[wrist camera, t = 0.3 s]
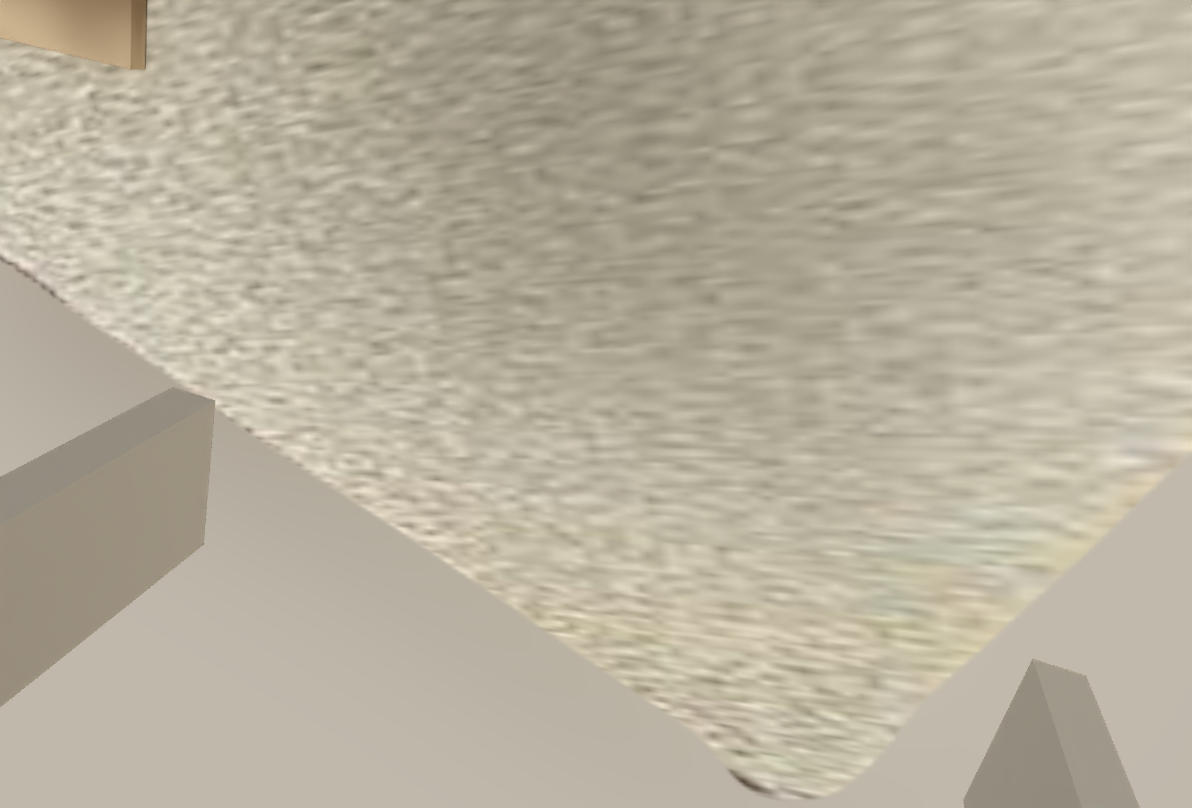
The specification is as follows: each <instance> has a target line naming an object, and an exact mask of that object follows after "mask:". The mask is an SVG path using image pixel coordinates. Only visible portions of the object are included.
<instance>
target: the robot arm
mask: <svg viewBox="0 0 1192 808" xmlns="http://www.w3.org/2000/svg"><path fill="white" fill-rule="evenodd" d="M214 411H215V400H212V399H209V398H206V397H203V396H199V395H196V394H193V393H190V392H187V391H184V390H180V389H177V388H174V387H172V388H170V389H168V390H166V391H164V392H163V393H160V394H159V395H157V396H155V397H153V398H151V399H149V400H147V401H145V402H144V403H141V404H139V405H137V406H136V407H134V408H132V409H130V410H128V411H126V412H124V413H122V414H120V415H118V416H117V417H114V418H113V419H111V420H109V421H107V422H105V423H103V424H101V425H99V426H97V427H95V428H93V429H91V430H90V431H88V432H86V433H84V434H82V435H80V436H78V437H76V438H74V439H72V440H70V441H68V442H67V443H65V444H63V445H61V446H59V447H57V448H55V449H53V450H51V451H49V452H47V453H45V454H44V455H42V456H40V457H38V458H36V459H34V460H33V461H30V462H28V463H26V464H24V465H22V466H21V467H19V468H17V469H15V470H13V471H11V472H9V473H7V474H5V475H3V476H1V477H0V707H1V706H2V705H4V704H5V703H6V702H7V701H9V700H10V699H11V698H12V697H14V696H15V695H16V694H17V693H19V692H20V691H21V690H22V689H24V688H25V687H26V686H27V685H29V684H30V683H31V682H32V681H34V680H35V679H36V678H37V677H39V676H40V675H41V674H42V673H43V672H45V671H46V670H47V669H49V668H50V667H51V666H52V665H54V664H55V663H56V662H57V661H59V660H60V659H61V658H62V657H64V656H65V655H66V654H67V653H69V652H70V651H71V650H72V649H74V648H75V647H76V646H77V645H79V644H80V643H81V642H82V641H84V640H85V639H86V638H87V637H89V636H90V635H91V634H92V633H94V632H95V631H96V630H97V629H98V628H100V627H101V626H102V625H103V624H105V623H106V622H107V621H109V620H110V619H111V618H112V617H114V616H115V615H116V614H117V613H119V612H120V611H121V610H122V609H124V608H125V607H126V606H127V605H129V604H130V603H131V602H132V601H134V600H135V599H136V598H137V597H139V596H140V595H141V594H142V593H144V592H145V591H146V590H147V589H149V588H150V587H151V586H152V585H154V584H155V583H156V582H157V581H159V580H160V579H161V578H162V577H164V576H165V575H166V574H167V573H168V572H170V571H171V570H172V569H174V568H175V567H176V566H177V565H179V564H180V563H181V562H182V561H184V560H185V559H186V558H187V557H189V556H190V555H191V554H192V553H194V552H195V551H196V550H197V549H199V548H200V547H201V546H202V545H204V534H205V522H206V509H207V497H208V485H209V472H210V460H211V448H212V435H213V424H214ZM964 806H965V808H1140V807H1139V805H1138V802H1137V800H1136V797H1135V795H1134V792H1133V790H1132V787H1131V785H1130V782H1129V780H1128V777H1127V775H1126V773H1125V770H1124V768H1123V765H1122V763H1121V760H1120V758H1119V756H1118V753H1117V751H1116V748H1115V746H1114V744H1113V741H1112V738H1111V736H1110V733H1109V731H1108V728H1107V726H1106V723H1105V721H1104V719H1103V716H1102V714H1101V711H1100V709H1099V706H1098V704H1097V701H1096V699H1095V697H1094V694H1093V692H1092V689H1091V687H1090V684H1089V682H1088V679H1087V677H1086V676H1085V675H1082V674H1079V673H1076V672H1072V671H1069V670H1066V669H1063V668H1060V667H1057V666H1054V665H1050V664H1047V663H1044V662H1041V661H1038V660H1035V659H1032V662H1031V663H1030V665H1029V667H1028V669H1027V671H1026V674H1025V676H1024V678H1023V680H1022V682H1021V684H1020V686H1019V688H1018V690H1017V692H1016V694H1015V696H1014V698H1013V700H1012V702H1011V704H1010V706H1009V708H1008V710H1007V712H1006V714H1005V716H1004V718H1003V720H1002V722H1001V724H1000V727H999V729H998V731H997V733H996V735H995V737H994V739H993V741H992V743H991V745H990V747H989V749H988V751H987V753H986V755H985V757H984V759H983V762H982V763H981V765H980V767H979V769H978V772H977V773H976V775H975V777H974V779H973V781H972V784H971V786H970V788H969V790H968V792H967V794H966V796H965V798H964Z"/></svg>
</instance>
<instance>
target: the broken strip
mask: <svg viewBox="0 0 1192 808" xmlns="http://www.w3.org/2000/svg"><path fill="white" fill-rule="evenodd" d="M146 4H147V0H0V38H4V39H8V40H12V41H16V42H20V43H24V44H29V45H33V46H37V47H41V48H45V49H49V50H53V51H57V52H61V53H65V54H69V55H74V56H78V57H82V58H86V59H90V60H94V61H98V62H102V63H106V64H110V65H114V66H119V67H123V68H127V69H145V47H146Z"/></svg>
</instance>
